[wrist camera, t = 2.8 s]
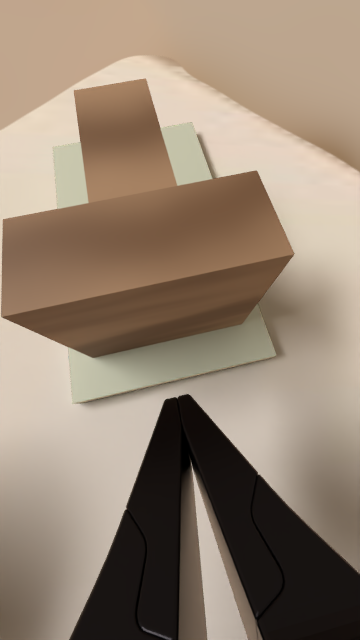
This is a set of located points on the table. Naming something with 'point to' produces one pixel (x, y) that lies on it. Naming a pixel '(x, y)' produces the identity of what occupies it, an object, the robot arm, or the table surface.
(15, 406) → the table surface
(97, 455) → the table surface
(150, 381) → the board
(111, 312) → the t block
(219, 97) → the table surface
